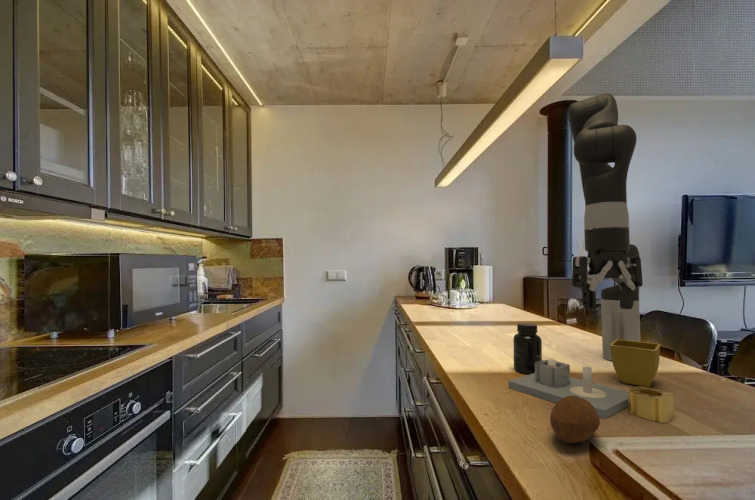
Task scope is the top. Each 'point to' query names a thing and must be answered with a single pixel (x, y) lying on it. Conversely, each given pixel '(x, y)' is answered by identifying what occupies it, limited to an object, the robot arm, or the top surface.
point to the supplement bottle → (527, 348)
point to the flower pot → (635, 361)
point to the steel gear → (552, 374)
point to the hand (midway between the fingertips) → (608, 309)
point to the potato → (574, 419)
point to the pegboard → (576, 391)
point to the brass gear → (651, 404)
